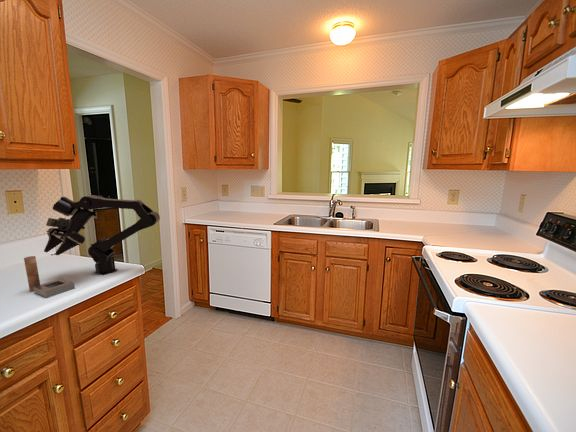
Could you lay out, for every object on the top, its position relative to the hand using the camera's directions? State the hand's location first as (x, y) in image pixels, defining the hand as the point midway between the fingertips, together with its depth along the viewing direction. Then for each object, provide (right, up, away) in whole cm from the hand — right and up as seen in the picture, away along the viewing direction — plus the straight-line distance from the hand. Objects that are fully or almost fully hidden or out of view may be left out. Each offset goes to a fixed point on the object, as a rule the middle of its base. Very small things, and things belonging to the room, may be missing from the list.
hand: (50, 253), depth 109 cm
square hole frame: (+6, -14, -5) cm, 15 cm away
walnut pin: (-3, -13, -4) cm, 14 cm away
